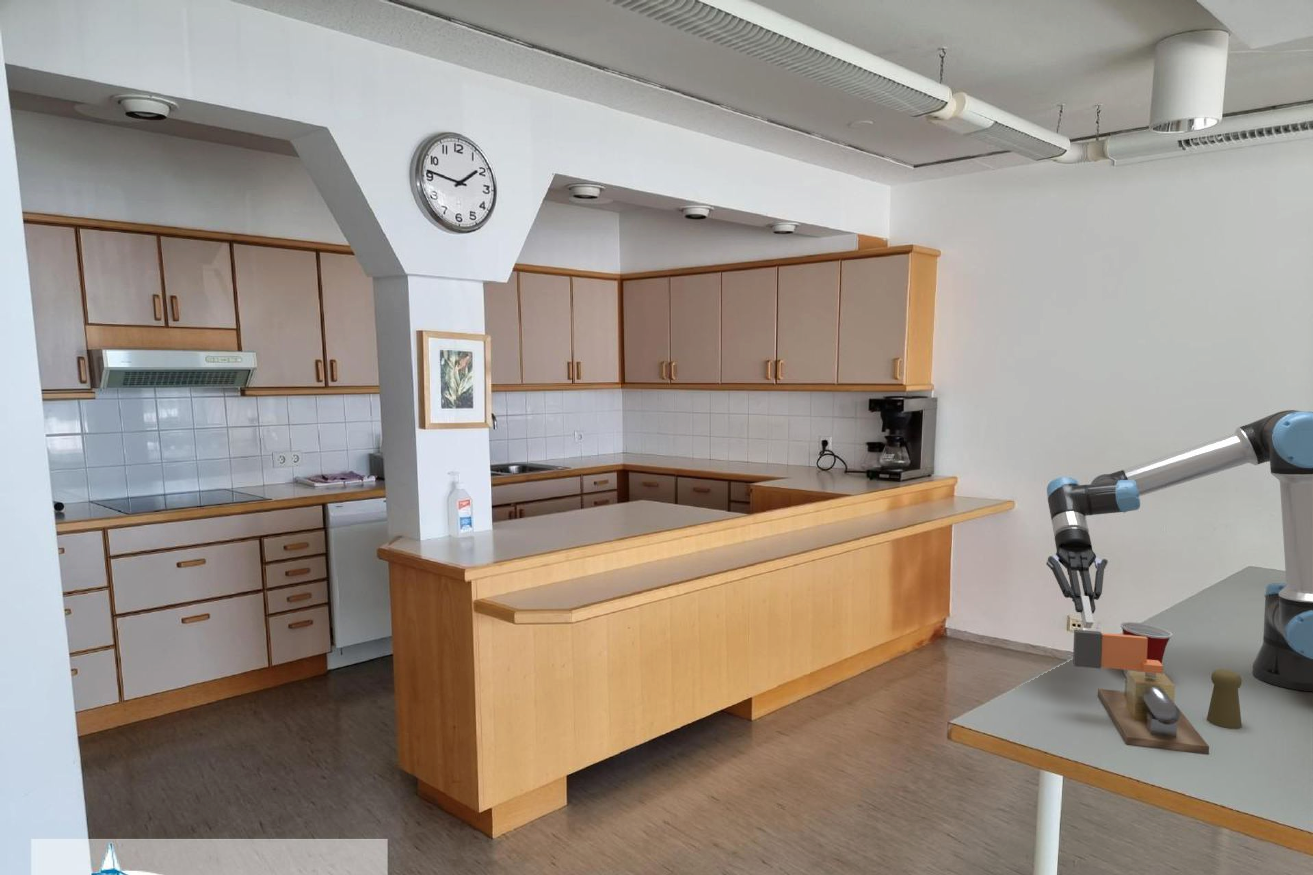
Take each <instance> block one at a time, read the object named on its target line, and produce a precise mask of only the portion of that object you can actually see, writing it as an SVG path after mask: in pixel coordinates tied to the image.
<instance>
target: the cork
mask: <svg viewBox="0 0 1313 875" xmlns="http://www.w3.org/2000/svg"><path fill="white" fill-rule="evenodd" d="M1210 680H1211V683H1212V684H1213V688H1212V693H1211V698H1210V702H1209V706H1208V711H1207V712H1208V713H1207V716H1206V721H1207V722H1208V721H1209V722H1208V723H1209V724H1212V725H1214V726H1217V727H1221V728H1225V729H1231V730H1232V729H1235V730H1236V729H1237V730H1238V729H1241V728H1242V726H1243V723H1242V716H1241V715H1242V714H1241V706H1240V704H1241V703H1240V697H1239V696H1240V695H1239V689H1240V688H1241V685H1242V682H1243V681H1242V678H1241V675H1240V673H1237V672H1236V671H1233V670H1229V669H1223V668H1219V669H1215V670H1214V671H1212V673H1211V676H1210Z"/></svg>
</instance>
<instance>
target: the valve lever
mask: <svg viewBox="0 0 1313 875" xmlns="http://www.w3.org/2000/svg"><path fill="white" fill-rule="evenodd" d="M1147 644H1148V638H1147V637H1144V636H1132V635H1123V634H1120V633H1119V634H1118V633H1105V632H1101V631H1099V630H1098V631H1097V630H1087V629H1084V630H1083V629H1073V652H1072V655H1073V658H1072V663H1073V666H1074V667H1079V668H1080V667H1081V668H1091V669H1099V670H1100V669H1103V668H1105V669H1114V670H1123V671H1124V670H1135V671H1143V672H1145V676H1147V677H1150V678H1156V673H1159V674H1164V666H1165V665H1163V664H1162V663H1160V662H1159V661H1158V660H1147Z"/></svg>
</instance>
